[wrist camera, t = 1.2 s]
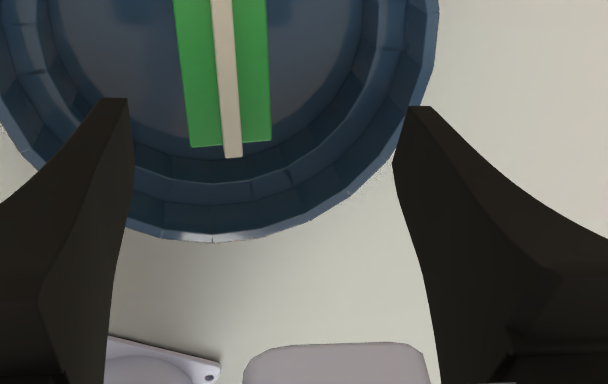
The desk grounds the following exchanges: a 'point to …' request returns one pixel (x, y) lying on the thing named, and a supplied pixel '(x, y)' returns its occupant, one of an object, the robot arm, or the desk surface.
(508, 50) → the desk surface
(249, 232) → the bowl
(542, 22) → the desk surface
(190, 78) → the green rectangular block
